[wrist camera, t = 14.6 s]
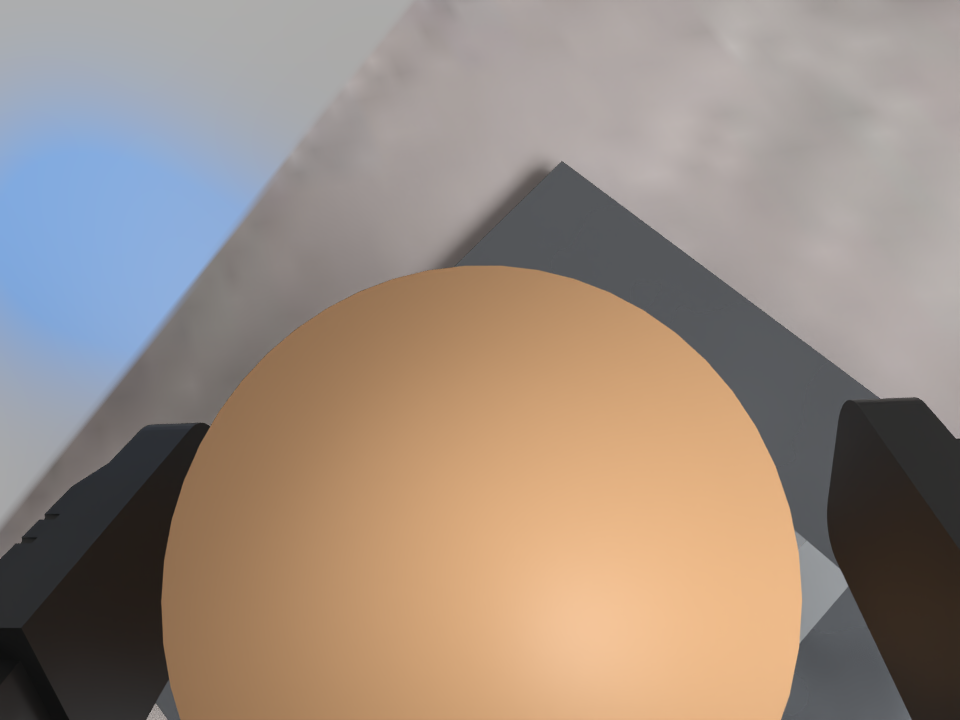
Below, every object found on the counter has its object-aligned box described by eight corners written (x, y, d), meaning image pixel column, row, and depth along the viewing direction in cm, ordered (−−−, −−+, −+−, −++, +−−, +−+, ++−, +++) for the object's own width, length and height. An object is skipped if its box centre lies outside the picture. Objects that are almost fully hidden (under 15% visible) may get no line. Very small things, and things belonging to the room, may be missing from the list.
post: (548, 459, 17) (463, 165, 5) (685, 588, 15) (951, 550, 4) (424, 589, 16) (49, 561, 5) (556, 733, 15) (460, 1139, 4)
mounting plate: (562, 177, 20) (558, 113, 17) (1052, 547, 15) (1146, 536, 13) (116, 617, 18) (34, 620, 15) (529, 1189, 13) (513, 1333, 11)
